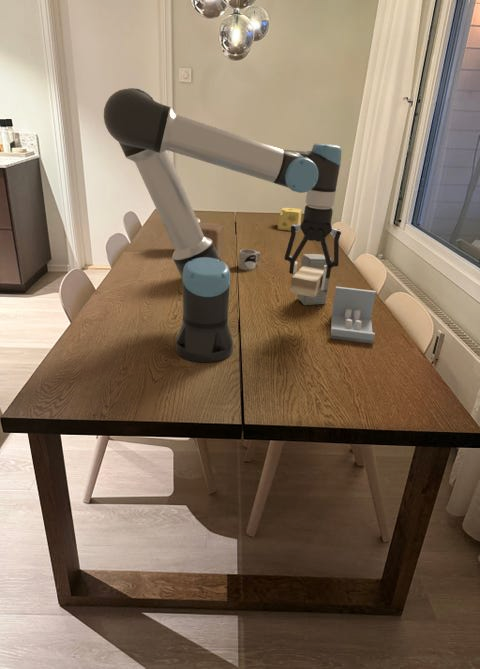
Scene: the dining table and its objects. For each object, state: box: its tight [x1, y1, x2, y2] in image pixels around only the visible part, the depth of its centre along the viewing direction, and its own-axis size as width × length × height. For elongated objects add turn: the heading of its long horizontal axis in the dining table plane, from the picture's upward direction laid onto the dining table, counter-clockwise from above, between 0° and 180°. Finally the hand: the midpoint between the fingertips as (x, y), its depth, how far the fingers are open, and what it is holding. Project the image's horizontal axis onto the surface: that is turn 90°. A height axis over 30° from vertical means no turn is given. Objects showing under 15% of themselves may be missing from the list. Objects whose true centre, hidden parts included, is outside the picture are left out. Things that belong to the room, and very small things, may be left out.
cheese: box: [277, 207, 303, 232], centre depth 254 cm, size 10×11×10 cm
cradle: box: [330, 285, 377, 345], centre depth 144 cm, size 16×12×10 cm
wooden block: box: [198, 221, 224, 261], centre depth 173 cm, size 10×10×20 cm
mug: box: [238, 248, 261, 271], centre depth 193 cm, size 10×7×7 cm, turn 129°
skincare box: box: [296, 253, 333, 306], centre depth 162 cm, size 8×7×16 cm
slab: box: [289, 266, 324, 297], centre depth 139 cm, size 12×7×4 cm, turn 158°
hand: (307, 286), depth 140 cm, fingers closed on slab, 8 cm apart
